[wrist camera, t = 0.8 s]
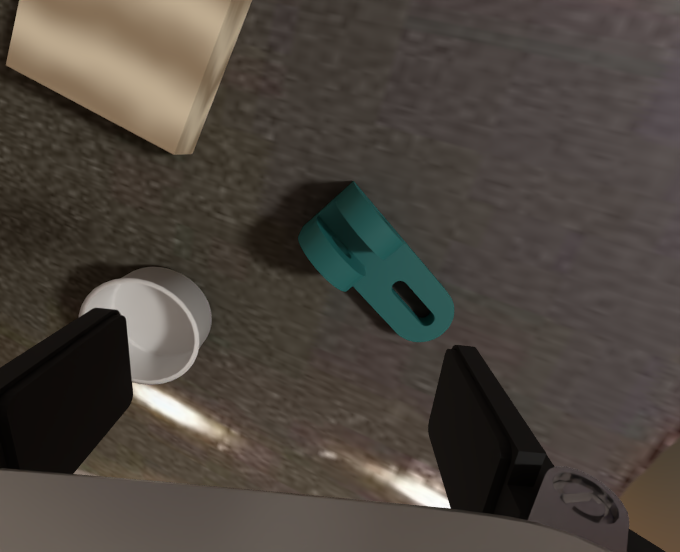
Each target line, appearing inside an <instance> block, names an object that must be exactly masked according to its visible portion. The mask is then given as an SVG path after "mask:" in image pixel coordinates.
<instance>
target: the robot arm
mask: <svg viewBox="0 0 680 552" xmlns="http://www.w3.org/2000/svg"><path fill="white" fill-rule="evenodd" d="M132 398H133V388H132V377H131V366H130V355H129V344H128V334H127V323H126V318H125V316H123V315H121V314H120V312H119V311H118V310H115V309H105V308H93V309H91V310H90V311H88V312H87V313H85V314H83V315H82V316H80V317H79V318H77V319H76V320H74V321H73V322H71V323H69V324H68V325H66V326H65V327H63V328H62V329H60V330H58V331H57V332H55V333H54V334H52V335H51V336H49V337H47V338H46V339H44V340H43V341H41V342H40V343H38V344H37V345H35V346H33V347H32V348H30V349H29V350H27V351H26V352H24V353H22V354H21V355H19V356H18V357H16V358H15V359H13V360H12V361H10V362H8V363H7V364H5V365H4V366H2V367H1V368H0V552H665V551H664V550H662V549H660V548H659V547H657V546H656V545H654V544H652V543H651V542H649V541H647V540H646V539H644V538H643V537H641V536H639V535H638V534H637V533H635V532H633V531H632V530H630V529H629V518H628V512H627V511H626V509H625V507H624V505H623V503H622V502H621V501H620V499H619V498H618V497H617V496H616V495H615V494H614V493H613V492H612V491H611V490H610V489H609V488H608V487H606V486H605V485H604V484H603V483H602V482H600V481H598V480H597V479H595V478H594V477H592V476H590V475H588V474H586V473H584V472H582V471H579V470H577V469H573V468H569V467H554V465H553V464H552V462H551V461H550V459H549V458H548V456H547V455H546V452H545V451H544V449H543V448H542V446H541V445H540V443H539V442H538V440H537V439H536V437H535V436H534V434H533V433H532V431H531V430H530V428H529V427H528V425H527V424H526V422H525V421H524V419H523V418H522V416H521V415H520V413H519V412H518V410H517V409H516V407H515V406H514V404H513V403H512V401H511V400H510V398H509V397H508V395H507V394H506V392H505V391H504V389H503V388H502V386H501V385H500V383H499V382H498V380H497V379H496V377H495V376H494V374H493V373H492V371H491V370H490V368H489V367H488V365H487V364H486V362H485V361H484V359H483V358H482V356H481V355H480V353H479V352H478V350H477V349H476V348H475V347H471V346H461V345H454V346H453V348H452V349H447V351H446V353H445V356H444V361H443V365H442V369H441V373H440V377H439V382H438V386H437V390H436V394H435V398H434V402H433V407H432V411H431V415H430V419H429V424H428V432H429V437H430V440H431V444H432V447H433V450H434V454H435V457H436V460H437V464H438V467H439V470H440V474H441V477H442V480H443V484H444V487H445V490H446V494H447V497H448V500H449V504H450V507H451V509H449V508H438V507H428V506H418V505H407V504H397V503H387V502H376V501H366V500H356V499H345V498H335V497H324V496H314V495H304V494H293V493H282V492H271V491H260V490H249V489H238V488H227V487H216V486H205V485H194V484H182V483H171V482H160V481H148V480H136V479H124V478H112V477H101V476H89V475H76V474H73V473H74V472H75V471H76V470H77V469H78V467H79V466H80V465H81V464H82V463H83V461H84V460H85V459H86V458H87V457H88V455H89V454H90V453H91V452H92V450H93V449H94V448H95V447H96V446H97V444H98V443H99V442H100V441H101V440H102V438H103V437H104V436H105V435H106V434H107V432H108V431H109V430H110V429H111V428H112V426H113V425H114V424H115V423H116V422H117V420H118V419H119V418H120V417H121V416H122V414H123V413H124V412H125V411H126V409H127V408H128V407H129V405H130V404H131V401H132Z"/></svg>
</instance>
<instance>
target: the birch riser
mask: <svg viewBox="0 0 680 552" xmlns="http://www.w3.org/2000/svg"><path fill="white" fill-rule="evenodd" d="M251 2H252V0H19V4H18V9H17V14H16V19H15V23H14V28H13V33H12V38H11V43H10V47H9V52H8V57H7V62H6V66H8V67H10V68H12V69H14V70H16V71H18V72H20V73H21V74H23V75H25V76H27V77H29V78H31V79H33V80H35V81H36V82H38V83H40V84H42V85H44V86H46V87H48V88H50V89H51V90H53V91H55V92H57V93H59V94H61V95H63V96H65V97H67V98H68V99H70V100H72V101H74V102H76V103H78V104H80V105H82V106H83V107H85V108H87V109H89V110H91V111H93V112H95V113H97V114H98V115H100V116H102V117H104V118H106V119H108V120H110V121H112V122H113V123H115V124H117V125H119V126H121V127H123V128H125V129H127V130H128V131H130V132H132V133H134V134H136V135H138V136H140V137H142V138H144V139H145V140H147V141H149V142H151V143H153V144H155V145H157V146H159V147H160V148H162V149H164V150H166V151H168V152H170V153H172V154H174V155H179V154H193V151H194V149H195V146H196V143H197V141H198V138H199V136H200V133H201V130H202V128H203V125H204V123H205V120H206V118H207V115H208V112H209V110H210V107H211V105H212V102H213V100H214V97H215V94H216V92H217V89H218V87H219V84H220V82H221V79H222V76H223V74H224V71H225V69H226V66H227V63H228V61H229V58H230V56H231V53H232V51H233V48H234V45H235V43H236V40H237V38H238V35H239V33H240V30H241V27H242V25H243V22H244V20H245V17H246V14H247V12H248V9H249V7H250V4H251Z"/></svg>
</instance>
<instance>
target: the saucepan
mask: <svg viewBox="0 0 680 552" xmlns="http://www.w3.org/2000/svg"><path fill="white" fill-rule="evenodd" d="M93 308H105V309H115V310H118V311H119V312H120V314H121V315H123V316H125V318H126V323H127V334H128V344H129V355H130V366H131V377H132V382H134V383H138V384H148V385H153V384H162V383H166V382H169V381H172V380H174V379H176V378H178V377H180V376H181V375H183V374H184V373H185V372H186V371H187V370H188V369H189V368H190V367H191V366H192V364H193V363H194V361H195V359H196V356H197V354H198V349H199V348H200V346H201V345H202V343H203V342H204V341H205V339H206V338H207V336H208V334H209V331H210V328H211V322H212V319H211V310H210V306H209V303H208V301H207V299H206V297H205V295H204V294H203V292H202V291H201V290H200V288H199V287H198V286H197V285H196V284H195V283H194V282H193V281H192V280H190V279H189V278H187V277H186V276H184V275H183V274H181V273H178V272H176V271H174V270H171V269H167V268H163V267H145V268H140V269H137V270H134V271H132V272H131V273H129V274H127V275H126V276H124V277H122V278H120V279H114V280H111V281H108V282H105V283H103V284H101V285H100V286H98V287H96V288H95V289H93V290H92V291H91V292H90V293H89V294H88V295H87V297H86V298H85V300H84V302H83V303H82V306H81V309H80V313H79V317H80V316H82V315H83V314H85V313H87V312H88V311H90V310H91V309H93Z"/></svg>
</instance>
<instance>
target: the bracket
mask: <svg viewBox="0 0 680 552" xmlns="http://www.w3.org/2000/svg"><path fill="white" fill-rule="evenodd" d="M298 241H299V244H300V246H301V248H302V250H303V251H304V253H305V255H306V256H307V258H308V259H309V260H310V262H311V263H312V264H313V266H314V267H315V268H316V269H317V270H318V271H319V273H320V274H321V275H322V276H323V277H324V278H325V279H326V280H327V281H328V282H330V283H331V284H332V285H333V286H335V287H336V288H337V289H339V290H341V291H344V292H346V291H347V290H349V289H350V288H351V287H352V286H353V287H354V288H355V289H356V290H357V291H358V292H359V293H360V294H361V295H362V297H363V298H364V299H365V300H366V301H367V302H368V303H369V304H370V305H371V306H372V307H373V308H374V309H375V310H376V312H377V313H378V314H379V315H380V316H381V317H382V318H383V319H384V320H385V321H386V322H387V323H388V324H389V325H390V327H391V328H392V329H393V330H394V331H395V332H396V333H397V334H398V335H399V336H401V337H402V338H404V339H406V340H409V341H413V342H426V341H430V340H433V339H435V338H437V337H439V336H440V335H442V334H443V333H444V332H445V331H446V330H447V329H448V328H449V326H450V324H451V322H452V320H453V317H454V304H453V301H452V299H451V297H450V295H449V294H448V293H447V291H446V290H445V289H444V287H443V286H442V285H441V284H440V282H439V281H438V280H437V279H436V278H435V277H434V275H433V274H432V273H431V272H430V271H429V269H428V268H427V267H426V266H425V265H424V264H423V262H422V261H421V260H420V259H419V258H418V256H417V255H416V254H415V253H414V252H413V251H412V249H411V248H410V247H409V246H408V245H407V243H406V242H405V241H404V240H403V239H402V238H401V236H400V235H399V234H398V233H397V232H396V230H395V229H394V228H393V227H392V226H391V225H390V223H389V222H388V221H387V220H386V219H385V217H384V216H383V215H382V214H381V213H380V212H379V210H378V209H377V208H376V207H375V206H374V204H373V203H372V202H371V201H370V200H369V199H368V197H367V196H366V195H365V194H364V193H363V191H362V190H361V189H360V188H359V187H358V186H357V184H356V183H355V182H354V181H353V182H352V183H351V184H350V185H349V186H347V187H346V188H345V189H344V190H343V191H342V192H341V193H340V194H339V195H337V196H336V197H335V198H334V199H333V200H332V201H331V202H330V203H329V204H327V205H326V206H325V207H324V208H323V209H322V210H321V211H320V212H319V213H317V214H316V215H315V216H314V217H313V218H312V219H311V220H310V221H309V222H307V223H306V224H305V225H304V226H303V228H302V230H301V232H300V234H299V236H298ZM397 281H403V282H405V283H406V284H407V285H408V286H409V287H410V288H411V289H412V290H413V292H414V293H415V294H416V295H417V296H418V297H419V298H420V300H421V301H422V302H423V303H424V304H425V305H426V306H427V308H428V309H429V310H430V313H429V315H428V316H426V317H423V318H421V317H418V316H417V315H416V314H415V313H414V312H413V311H412V310H411V309H410V307H409V306H408V305H407V304H406V303H405V302H404V301H403V300H402V299H401V297H400V296H399V295H398V294H397V293H396V292H395V291H394V290H393V289H392V285H393V284H394V283H395V282H397Z"/></svg>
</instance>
